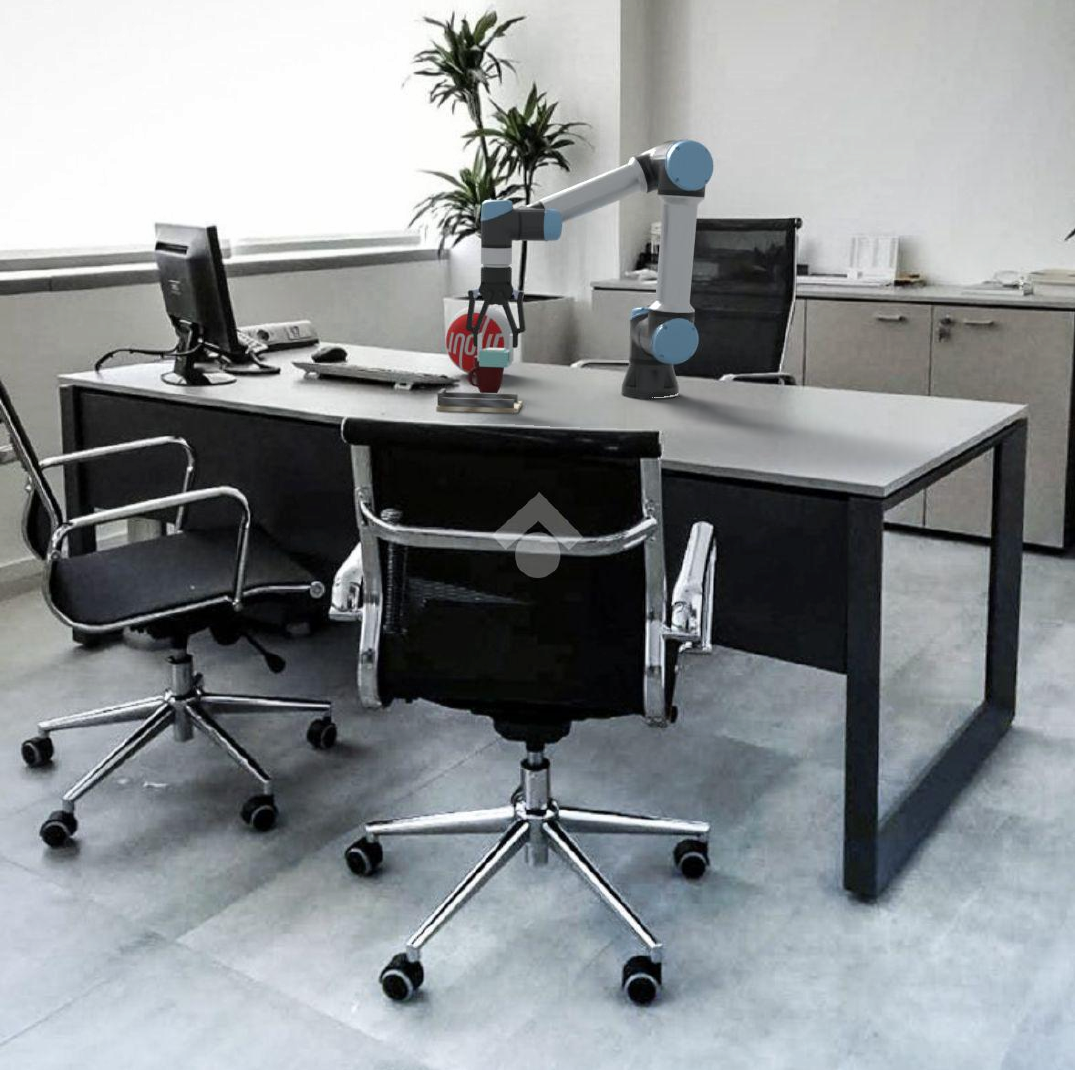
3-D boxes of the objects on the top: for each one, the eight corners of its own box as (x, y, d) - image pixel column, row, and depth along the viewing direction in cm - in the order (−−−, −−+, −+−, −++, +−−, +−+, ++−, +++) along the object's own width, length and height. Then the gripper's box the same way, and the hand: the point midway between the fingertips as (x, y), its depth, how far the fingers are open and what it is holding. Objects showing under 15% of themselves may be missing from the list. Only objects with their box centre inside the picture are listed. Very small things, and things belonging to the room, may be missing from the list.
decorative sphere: (436, 378, 371) (435, 307, 366) (456, 368, 390) (455, 300, 385) (504, 382, 367) (505, 309, 362) (521, 371, 386) (521, 302, 380)
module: (511, 363, 327) (511, 347, 326) (507, 367, 322) (507, 350, 320) (483, 362, 328) (483, 346, 327) (479, 366, 322) (479, 349, 321)
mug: (481, 399, 340) (481, 360, 337) (460, 395, 345) (460, 357, 343) (510, 394, 348) (510, 356, 345) (489, 390, 353) (489, 353, 350)
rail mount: (521, 405, 333) (522, 389, 332) (517, 412, 322) (517, 396, 321) (443, 402, 334) (443, 387, 333) (436, 410, 324) (436, 394, 323)
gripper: (539, 265, 321) (537, 359, 327) (457, 263, 323) (457, 357, 329) (536, 267, 314) (534, 363, 320) (452, 265, 316) (452, 361, 322)
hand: (495, 360), depth 325 cm, fingers closed on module, 7 cm apart
